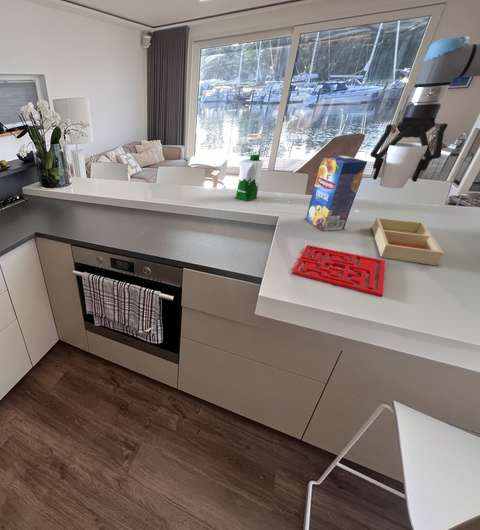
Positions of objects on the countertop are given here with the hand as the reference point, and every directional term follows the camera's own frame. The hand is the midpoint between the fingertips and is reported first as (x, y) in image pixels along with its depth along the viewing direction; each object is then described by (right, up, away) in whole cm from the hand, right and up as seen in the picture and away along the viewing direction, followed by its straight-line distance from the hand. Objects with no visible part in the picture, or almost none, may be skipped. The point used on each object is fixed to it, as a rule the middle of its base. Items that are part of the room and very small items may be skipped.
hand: (393, 179), depth 96 cm
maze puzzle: (-28, -30, -13) cm, 43 cm away
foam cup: (0, -2, +1) cm, 2 cm away
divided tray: (-1, -22, -3) cm, 22 cm away
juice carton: (-13, -13, +14) cm, 24 cm away
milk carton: (-29, +5, +47) cm, 56 cm away
